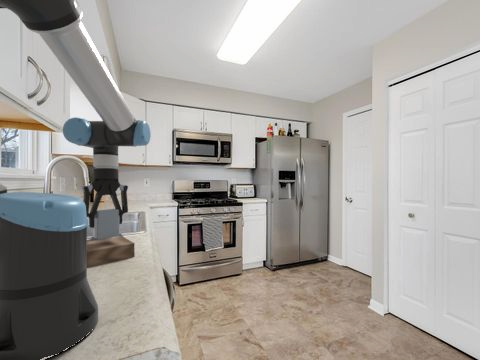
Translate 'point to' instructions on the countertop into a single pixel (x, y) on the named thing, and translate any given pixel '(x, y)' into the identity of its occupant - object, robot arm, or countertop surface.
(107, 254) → the walnut block
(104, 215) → the slate block
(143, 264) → the countertop surface
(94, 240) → the packaged food
